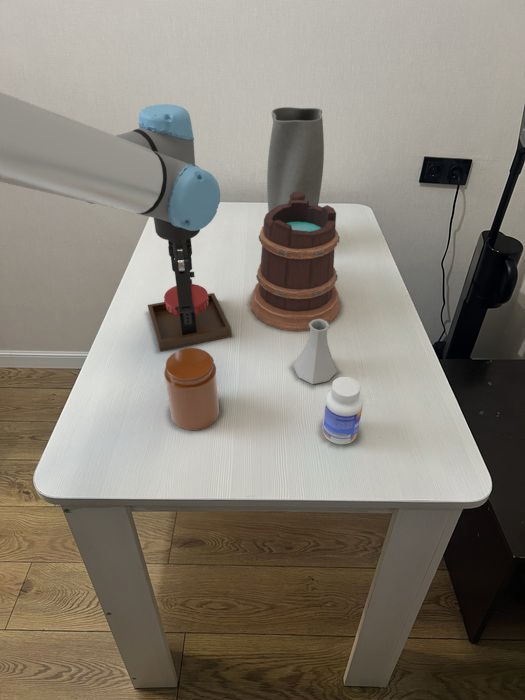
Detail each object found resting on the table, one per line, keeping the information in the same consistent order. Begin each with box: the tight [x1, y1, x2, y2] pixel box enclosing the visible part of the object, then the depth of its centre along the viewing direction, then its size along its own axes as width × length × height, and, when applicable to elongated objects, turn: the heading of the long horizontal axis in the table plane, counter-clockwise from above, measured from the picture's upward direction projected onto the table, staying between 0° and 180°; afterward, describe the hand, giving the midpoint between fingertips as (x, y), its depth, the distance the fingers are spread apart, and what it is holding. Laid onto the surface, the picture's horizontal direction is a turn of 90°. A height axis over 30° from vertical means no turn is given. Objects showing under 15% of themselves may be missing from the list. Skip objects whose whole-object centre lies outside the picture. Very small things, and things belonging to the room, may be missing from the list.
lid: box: [163, 283, 209, 316], centre depth 92 cm, size 8×8×2 cm
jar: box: [163, 347, 220, 431], centre depth 74 cm, size 8×8×10 cm
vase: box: [266, 106, 325, 213], centre depth 111 cm, size 12×12×30 cm
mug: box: [249, 192, 341, 332], centre depth 96 cm, size 18×23×20 cm
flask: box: [292, 319, 338, 385], centre depth 82 cm, size 7×7×10 cm
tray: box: [147, 292, 232, 352], centre depth 95 cm, size 14×13×2 cm
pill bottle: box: [321, 376, 364, 445], centre depth 72 cm, size 5×5×10 cm
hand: (188, 320), depth 95 cm, fingers closed on lid, 8 cm apart
